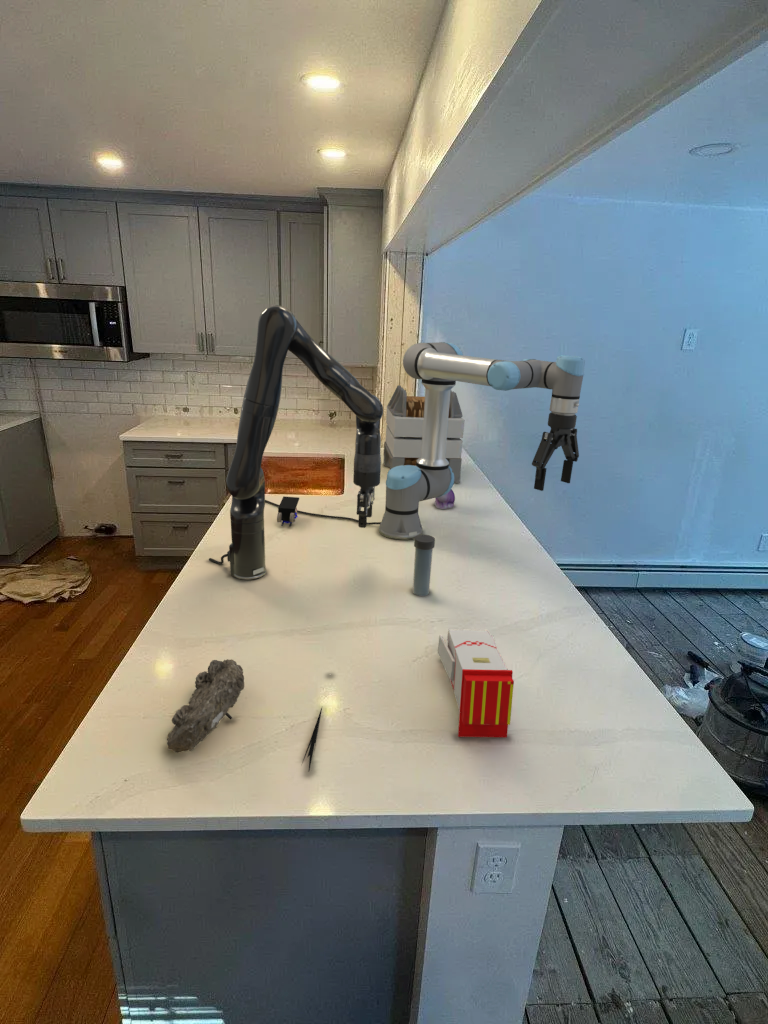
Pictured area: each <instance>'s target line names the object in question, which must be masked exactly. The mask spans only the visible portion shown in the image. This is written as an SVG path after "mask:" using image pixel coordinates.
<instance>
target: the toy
mask: <svg viewBox="0 0 768 1024" xmlns="http://www.w3.org/2000/svg"><path fill="white" fill-rule="evenodd" d="M446 640H447V643H446V641H445V639H444V636H443V635H442V634H439V637H438V646H437V656H438V657H439V659H440V661H441V663H442V666H443V668H444V670H445V672H446V674H447V677H448V679H449V681H450V684H451V687H452V690H453V693H454V697H455V701H456V705H457V708H458V711H459V714H458V715H459V716H458V730H457V731H458V732H457V737H458V738H508V731H509V726H510V725H511V717H512V707H513V697H514V696H513V695H514V684H515V680H514V679H513V673H514V671H513V670H512V669H508V667H507V665H506V662H505V661H504V659H503V658H502V655H501V653H500V651H499V649H498V647H497V643H496V639H495V637H494V635H493V634H491V632H490V631H489V629H467V628H466V629H465V628H463V629H461V628H460V629H459V628H448V630H447V639H446Z"/></svg>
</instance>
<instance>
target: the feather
mask: <svg viewBox="0 0 768 1024" xmlns="http://www.w3.org/2000/svg"><path fill="white" fill-rule="evenodd" d="M329 675H330V676H331V675H332V674H331V673H330V674H329ZM322 710H323V707H321V708H320V710H319V713H318V716H317V719H316V723H315V725H314V728H313V731H312V733H311V737H310V739H309V742H308V745H307V748H306V751H305V754H304V757H303V760H302V763H301V767H302V765H303V763H304V761H305V758H308V759H309V760H308V762H307V763H308V764H307V766H308V771H310V770H311V766H312V765H311V764H312V760H313V757H315V756H314V755H315V751H316V749H315V746H317V739H318V733H319V729H320V722H321V717H322V712H323V711H322ZM313 754H314V755H313ZM306 755H307V757H306Z"/></svg>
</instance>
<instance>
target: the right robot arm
mask: <svg viewBox="0 0 768 1024" xmlns="http://www.w3.org/2000/svg"><path fill="white" fill-rule="evenodd" d="M585 365H586V360H585V358H584V357H582V356H578V355H566V354H565V355H564V354H563V355H558V356H557V357H556V360H555V361H549V360H541V359H536V358H524V359H521V360H506V359H505V360H504V359H503V360H502V359H496V358H487V357H479V356H471V355H464V354H463V352H462V350H461V349H460V347H459V346H457V345H456V344H455V343H451V342H445V341H443V342H442V341H441V342H440V341H439V342H438V341H437V342H417V343H414V344H412V345H411V346H409V347H408V348H407V350H406V351H405V353H404V355H403V358H402V366H403V369H404V372H405V373H406V374H407V375H408V376H409V377H411V378H412V379H415V380H421V385H422V386H423V387H424V389H425V392H424V397H425V404H424V419H423V434H422V449H421V457H420V458H418V459H417V461H416V466H413V465H401V466H396V467H394V468H392V469H390V468H389V470H388V472H387V474H386V479H385V504H384V505H385V507H384V508H385V509H384V513H383V515H382V519H381V522H380V521H379V522H378V521H377V522H376V521H374V522H373V521H371V522H367V526H373V525H378V533H379V534H380V535H381V536H382V537H385V538H387V539H389V540H395V541H410V540H414V539H415V536H417V535H423V525H422V524H421V518H420V515H419V507H420V506H419V505H420V502H423V501H427V500H431V499H435V498H438V497H441V496H443V495H445V494H447V493H448V492H449V491H450V490H451V489H452V490H453V488H454V487H453V486H454V484H455V483H454V473H452V469H451V467H450V466H449V462H448V461H447V459H446V458H445V453H446V441H447V428H448V416H449V404H450V392H451V391H452V389H453V388H454V387H455V386H456V384H457V382H461V383H465V384H473V385H479V386H487V387H491V388H492V389H494V390H496V391H503V392H504V391H511V390H520V389H532V388H533V389H534V388H539V389H546V390H551V398H550V404H549V413H548V418H547V419H548V420H547V426H548V427H549V428H550V431H549V432H548V431H543V432H542V435H541V440H540V442H539V445H538V447H537V449H536V452H535V454H534V457H533V460H532V461H531V466H533V467H535V475H534V477H535V478H534V485H533V489H534V490H537V491H539V492H543V491H544V489H545V484H546V483H545V482H546V476H547V468H546V466H547V465H548V463H549V461H550V459H551V457H552V456H553V454H554V453H555V451H556V450H557V449H558V448H560V447H561V449H562V452H563V455H564V458H565V459H563V463H562V468H561V469H562V470H561V475H560V482H562V483H566V484H571V478H572V472H573V466H574V463H576V462H578V461H579V457H580V453H579V444H578V428H576V423H577V419H578V416H577V414H578V412H579V411H578V410H579V406H580V397H581V391H582V385H583V380H584V376H585ZM265 503H267V504H269V505H272V506H275V507H277V508H278V507H279V505H280V504H277V503H275V502H272V501H269V500H267V499H265ZM297 514H303V515H307V516H313V517H321V518H329V519H339V520H347V521H353V522H356V523H359V519H356V518H353V517H349V516H348V517H347V516H339V515H338V516H337V515H327V514H321V513H314V512H307V511H303V510H298V509H297Z"/></svg>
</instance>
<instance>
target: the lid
mask: <svg viewBox="0 0 768 1024" xmlns="http://www.w3.org/2000/svg"><path fill="white" fill-rule="evenodd" d="M413 540H414V542H413V547H414V548H418V549H421V550H430V549H435V544H436V538H435V537H434V536H432V535H429V534H422V535H417V536H415V539H413Z"/></svg>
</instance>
